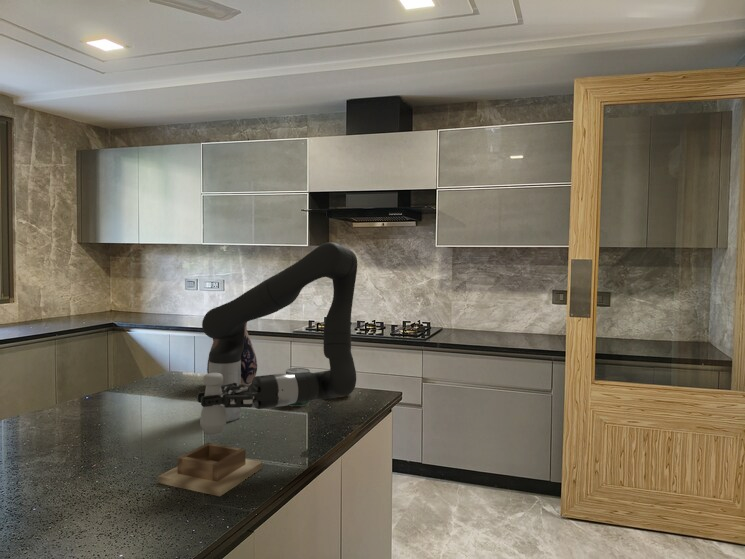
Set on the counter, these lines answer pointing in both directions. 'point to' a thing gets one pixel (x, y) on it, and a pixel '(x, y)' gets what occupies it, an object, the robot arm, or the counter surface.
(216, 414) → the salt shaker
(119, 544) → the counter surface
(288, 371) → the canned tomato
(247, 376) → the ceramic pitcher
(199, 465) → the socket holder
